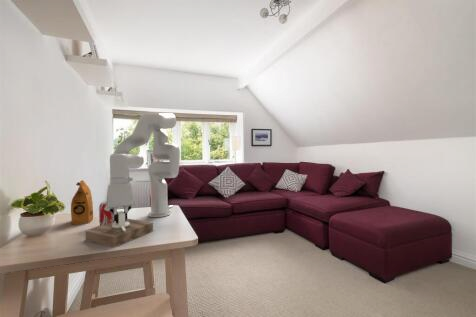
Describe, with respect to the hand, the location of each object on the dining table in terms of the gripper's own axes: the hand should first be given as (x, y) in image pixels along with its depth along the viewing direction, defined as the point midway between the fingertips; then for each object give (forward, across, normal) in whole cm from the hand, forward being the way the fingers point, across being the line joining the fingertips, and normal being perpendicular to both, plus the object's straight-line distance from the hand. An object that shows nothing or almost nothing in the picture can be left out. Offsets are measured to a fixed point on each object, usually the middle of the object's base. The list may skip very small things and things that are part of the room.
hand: (120, 221), depth 102 cm
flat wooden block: (+6, 0, 0) cm, 6 cm away
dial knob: (+2, 0, +3) cm, 4 cm away
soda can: (+6, +3, -20) cm, 21 cm away
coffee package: (+6, +14, -36) cm, 39 cm away
